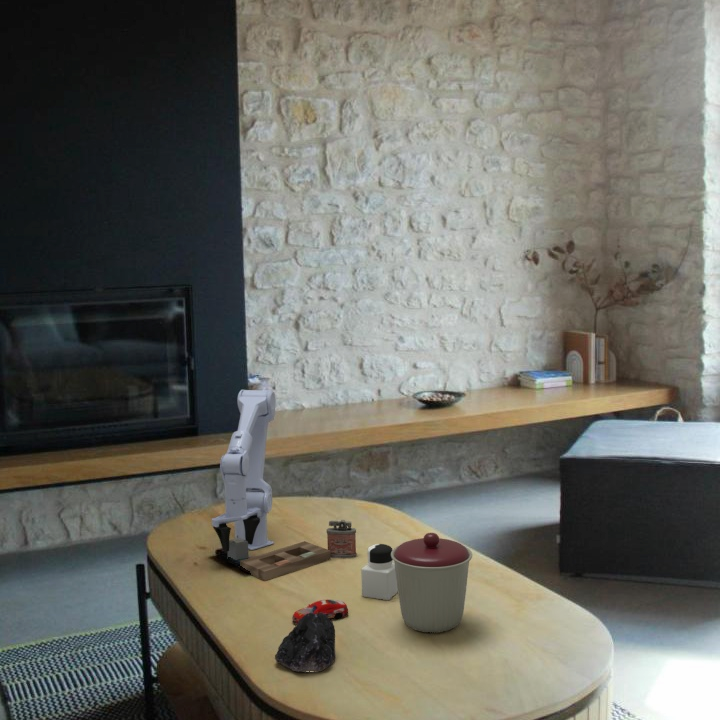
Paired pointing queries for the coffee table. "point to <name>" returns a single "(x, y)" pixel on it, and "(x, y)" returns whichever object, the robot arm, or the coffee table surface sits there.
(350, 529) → the lighter
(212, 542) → the coffee table surface
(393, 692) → the coffee table surface
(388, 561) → the medicine bottle
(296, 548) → the socket board
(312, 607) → the race car
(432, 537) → the canister
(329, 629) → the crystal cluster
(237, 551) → the plug
